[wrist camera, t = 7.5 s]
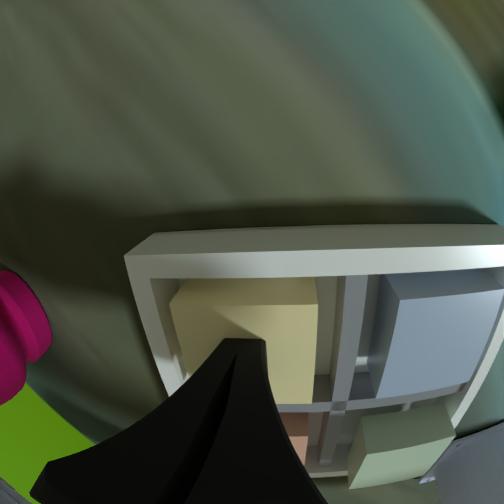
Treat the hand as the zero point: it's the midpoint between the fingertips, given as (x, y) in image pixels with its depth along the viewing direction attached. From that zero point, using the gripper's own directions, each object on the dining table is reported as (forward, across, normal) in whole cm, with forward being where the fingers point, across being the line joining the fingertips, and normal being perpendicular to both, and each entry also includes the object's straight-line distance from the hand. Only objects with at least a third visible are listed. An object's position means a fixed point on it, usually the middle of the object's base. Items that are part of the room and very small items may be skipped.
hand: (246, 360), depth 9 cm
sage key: (+1, -7, +7) cm, 10 cm away
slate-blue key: (+2, -7, 0) cm, 7 cm away
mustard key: (+2, 0, 0) cm, 2 cm away
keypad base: (+3, -4, +4) cm, 6 cm away
